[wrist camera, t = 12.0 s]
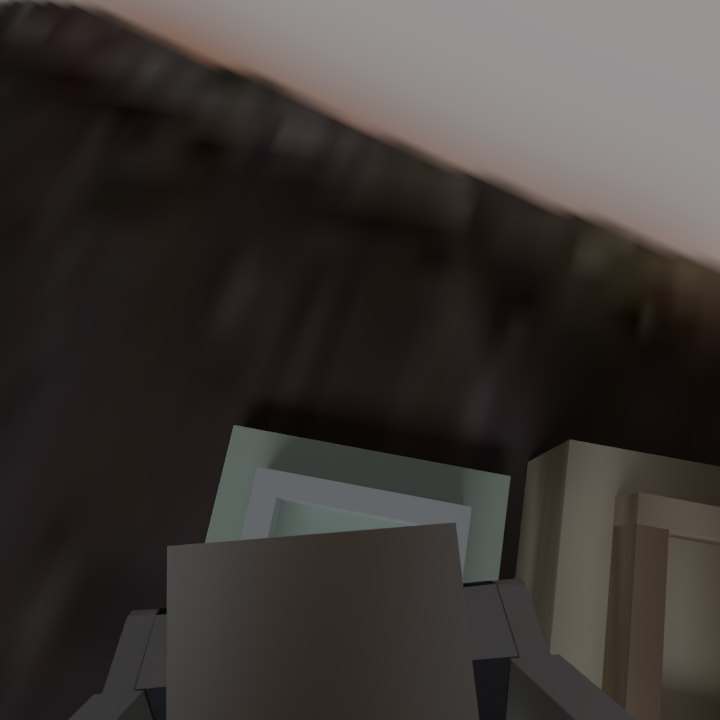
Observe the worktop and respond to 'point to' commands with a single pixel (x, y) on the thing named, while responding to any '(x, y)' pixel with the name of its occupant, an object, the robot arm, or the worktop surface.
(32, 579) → the worktop surface
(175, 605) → the cream plug block
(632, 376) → the worktop surface
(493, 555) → the sage socket plate
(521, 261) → the worktop surface
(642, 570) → the birch stand
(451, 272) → the worktop surface
